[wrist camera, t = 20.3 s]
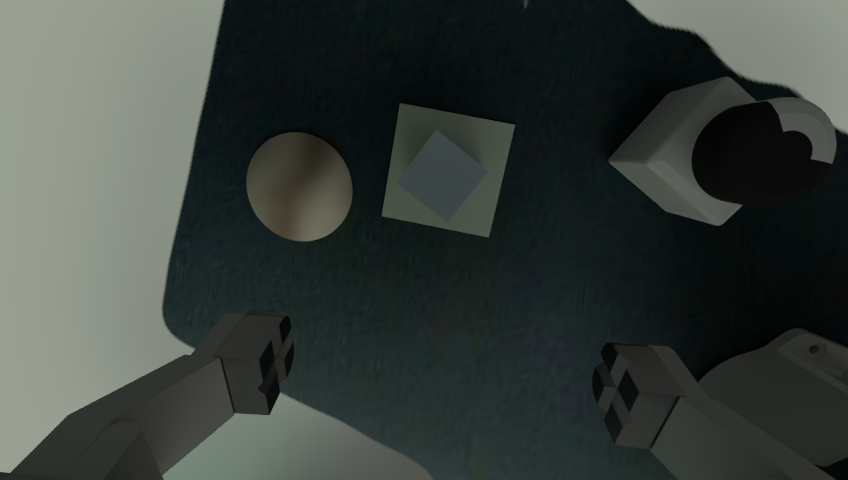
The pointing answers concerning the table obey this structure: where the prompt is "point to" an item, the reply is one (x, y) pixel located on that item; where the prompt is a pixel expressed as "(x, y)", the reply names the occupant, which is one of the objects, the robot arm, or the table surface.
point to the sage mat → (471, 136)
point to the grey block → (442, 176)
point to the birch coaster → (299, 186)
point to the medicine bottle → (726, 151)
